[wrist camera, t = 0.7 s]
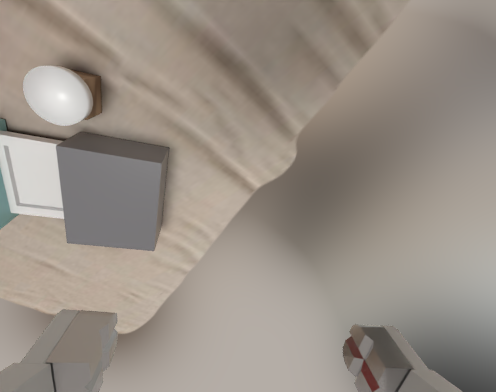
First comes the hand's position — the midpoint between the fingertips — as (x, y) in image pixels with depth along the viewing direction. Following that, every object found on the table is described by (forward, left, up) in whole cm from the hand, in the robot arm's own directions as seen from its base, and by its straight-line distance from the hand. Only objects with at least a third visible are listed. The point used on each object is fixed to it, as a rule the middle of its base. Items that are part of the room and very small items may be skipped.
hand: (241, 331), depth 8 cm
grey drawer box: (+14, -13, -35) cm, 41 cm away
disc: (0, -19, -31) cm, 36 cm away
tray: (+14, -24, -35) cm, 45 cm away
